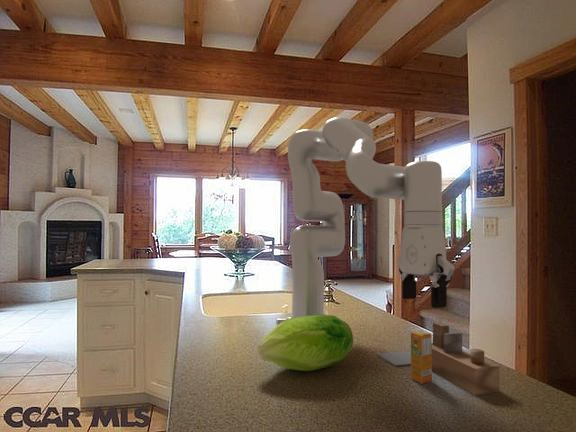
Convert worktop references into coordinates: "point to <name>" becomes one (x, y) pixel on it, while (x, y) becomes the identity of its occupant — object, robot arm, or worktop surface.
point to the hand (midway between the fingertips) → (423, 302)
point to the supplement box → (421, 356)
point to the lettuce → (307, 342)
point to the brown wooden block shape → (462, 363)
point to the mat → (397, 358)
